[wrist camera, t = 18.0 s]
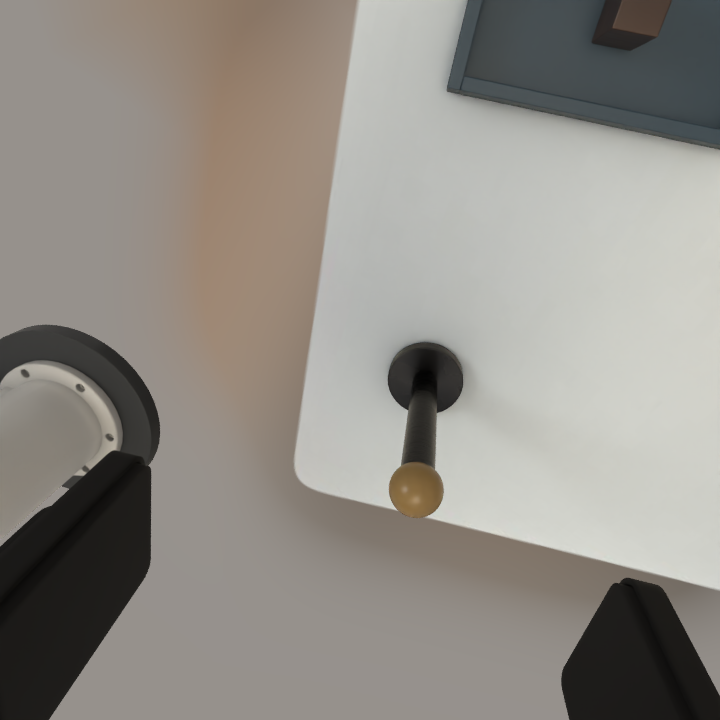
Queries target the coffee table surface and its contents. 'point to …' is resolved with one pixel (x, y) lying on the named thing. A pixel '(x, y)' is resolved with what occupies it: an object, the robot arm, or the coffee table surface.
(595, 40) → the brown ring with handle
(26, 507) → the robot arm
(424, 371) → the black post with ball
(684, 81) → the tray
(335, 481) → the coffee table surface
